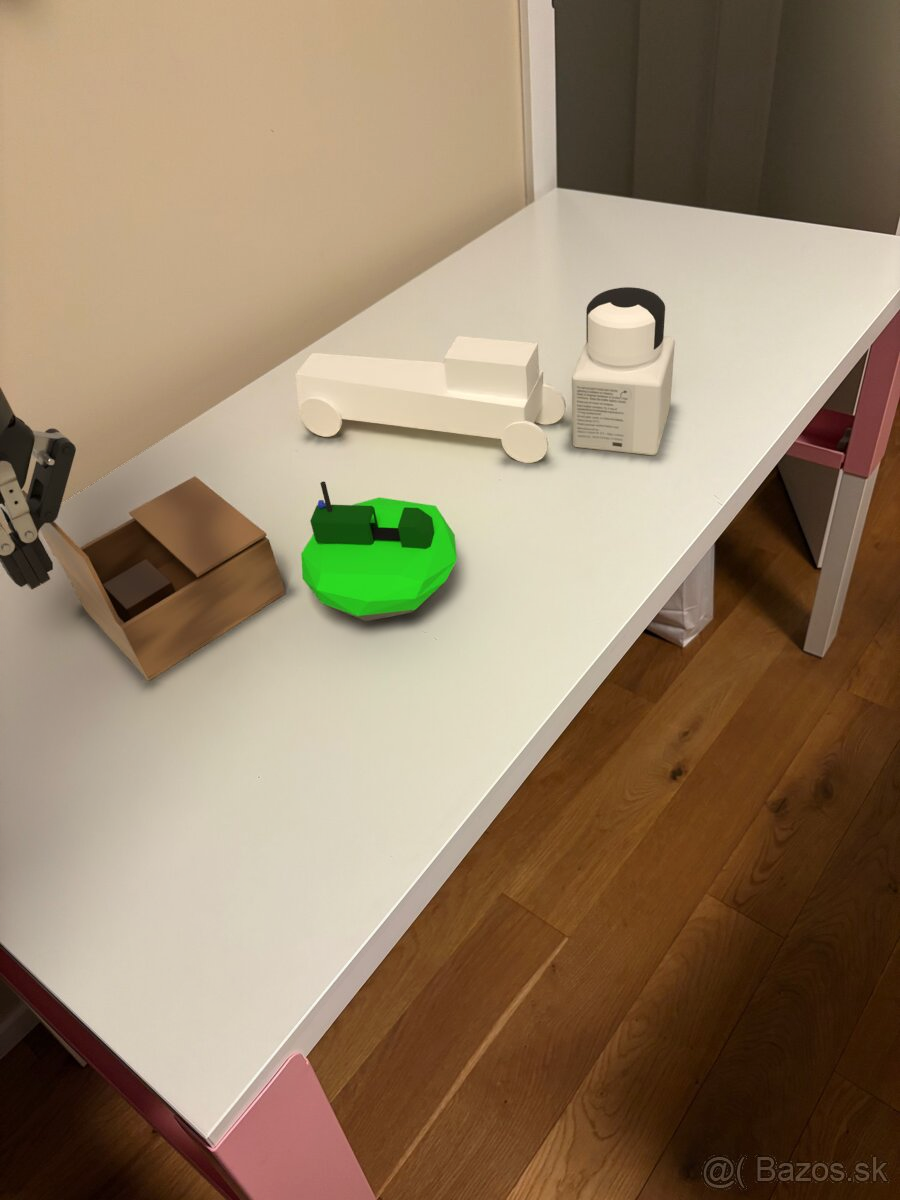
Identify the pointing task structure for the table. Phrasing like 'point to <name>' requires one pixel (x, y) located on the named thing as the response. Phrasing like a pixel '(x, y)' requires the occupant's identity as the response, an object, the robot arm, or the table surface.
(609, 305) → the container
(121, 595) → the block
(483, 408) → the toy truck
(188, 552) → the carton
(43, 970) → the table surface
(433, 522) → the green domed toy
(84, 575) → the flap
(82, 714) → the table surface
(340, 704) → the table surface
